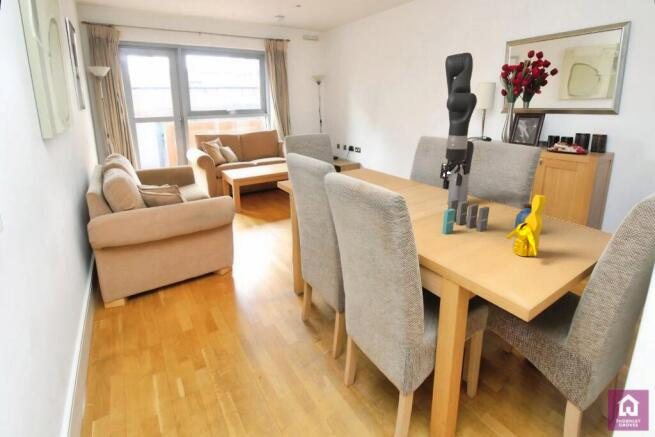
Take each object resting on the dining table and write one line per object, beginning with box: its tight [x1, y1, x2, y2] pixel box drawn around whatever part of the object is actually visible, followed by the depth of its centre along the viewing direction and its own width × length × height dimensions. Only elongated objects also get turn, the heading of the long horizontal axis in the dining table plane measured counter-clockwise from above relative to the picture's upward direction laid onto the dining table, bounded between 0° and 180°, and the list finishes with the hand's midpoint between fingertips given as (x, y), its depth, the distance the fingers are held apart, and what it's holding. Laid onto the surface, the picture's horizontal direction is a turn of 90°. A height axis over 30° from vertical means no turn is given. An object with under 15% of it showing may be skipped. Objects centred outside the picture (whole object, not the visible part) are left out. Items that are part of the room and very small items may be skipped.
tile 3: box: [465, 203, 480, 230], centre depth 157 cm, size 5×2×10 cm, turn 126°
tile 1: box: [447, 199, 459, 222], centre depth 165 cm, size 5×2×10 cm, turn 126°
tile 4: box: [476, 206, 490, 233], centre depth 153 cm, size 5×2×10 cm, turn 127°
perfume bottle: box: [513, 203, 532, 230], centre depth 151 cm, size 6×6×12 cm
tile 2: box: [455, 201, 469, 226], centre depth 161 cm, size 5×2×10 cm, turn 126°
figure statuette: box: [505, 194, 547, 257], centre depth 128 cm, size 18×8×22 cm, turn 6°
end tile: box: [441, 209, 455, 235], centre depth 151 cm, size 5×2×10 cm, turn 126°
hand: (452, 187), depth 146 cm, fingers open, 8 cm apart
